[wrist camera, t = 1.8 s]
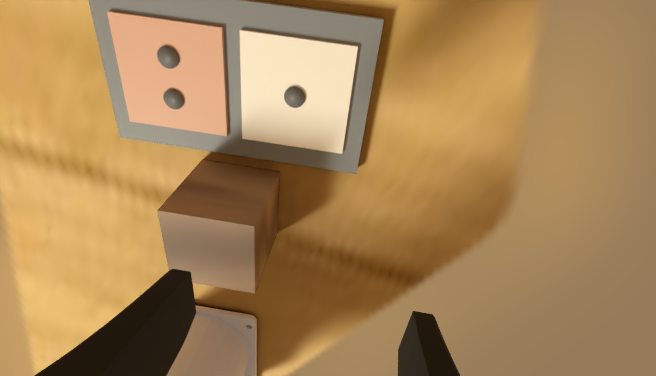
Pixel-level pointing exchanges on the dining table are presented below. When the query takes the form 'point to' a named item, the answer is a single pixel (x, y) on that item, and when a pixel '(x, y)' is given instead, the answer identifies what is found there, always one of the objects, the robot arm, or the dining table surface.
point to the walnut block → (222, 224)
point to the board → (241, 77)
